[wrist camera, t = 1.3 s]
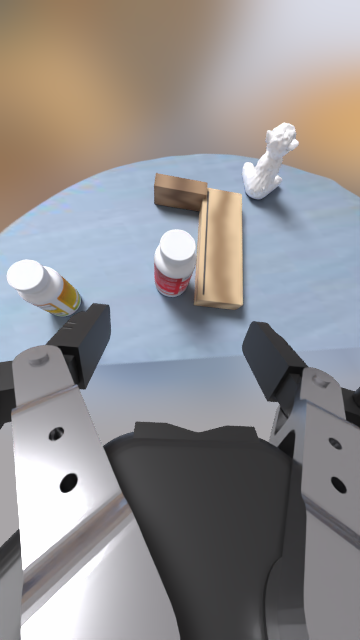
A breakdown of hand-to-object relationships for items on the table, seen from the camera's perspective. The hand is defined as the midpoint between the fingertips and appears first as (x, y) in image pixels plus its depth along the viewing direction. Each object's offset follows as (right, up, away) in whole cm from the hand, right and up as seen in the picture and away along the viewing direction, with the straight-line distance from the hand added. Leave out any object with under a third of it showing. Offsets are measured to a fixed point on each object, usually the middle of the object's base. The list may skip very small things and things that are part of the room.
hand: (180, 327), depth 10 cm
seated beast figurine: (+18, +31, +32) cm, 48 cm away
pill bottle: (-2, +7, +24) cm, 25 cm away
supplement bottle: (-19, +3, +21) cm, 29 cm away
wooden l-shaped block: (+3, +15, +26) cm, 30 cm away
